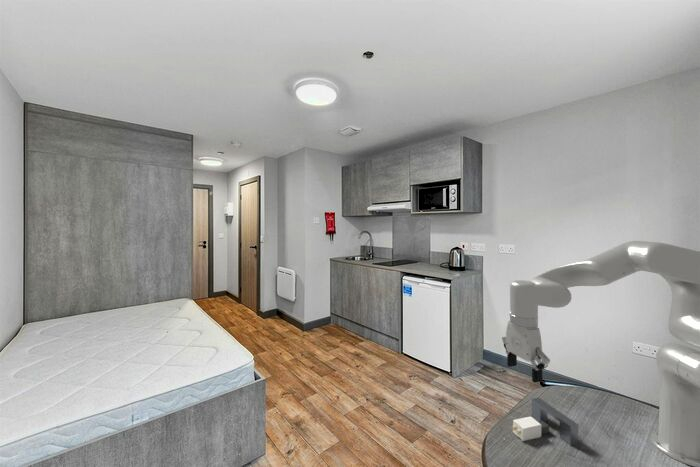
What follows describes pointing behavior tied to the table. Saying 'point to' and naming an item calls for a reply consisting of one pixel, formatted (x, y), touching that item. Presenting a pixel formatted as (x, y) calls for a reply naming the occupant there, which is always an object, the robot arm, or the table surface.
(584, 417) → the table surface
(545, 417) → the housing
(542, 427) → the plug
